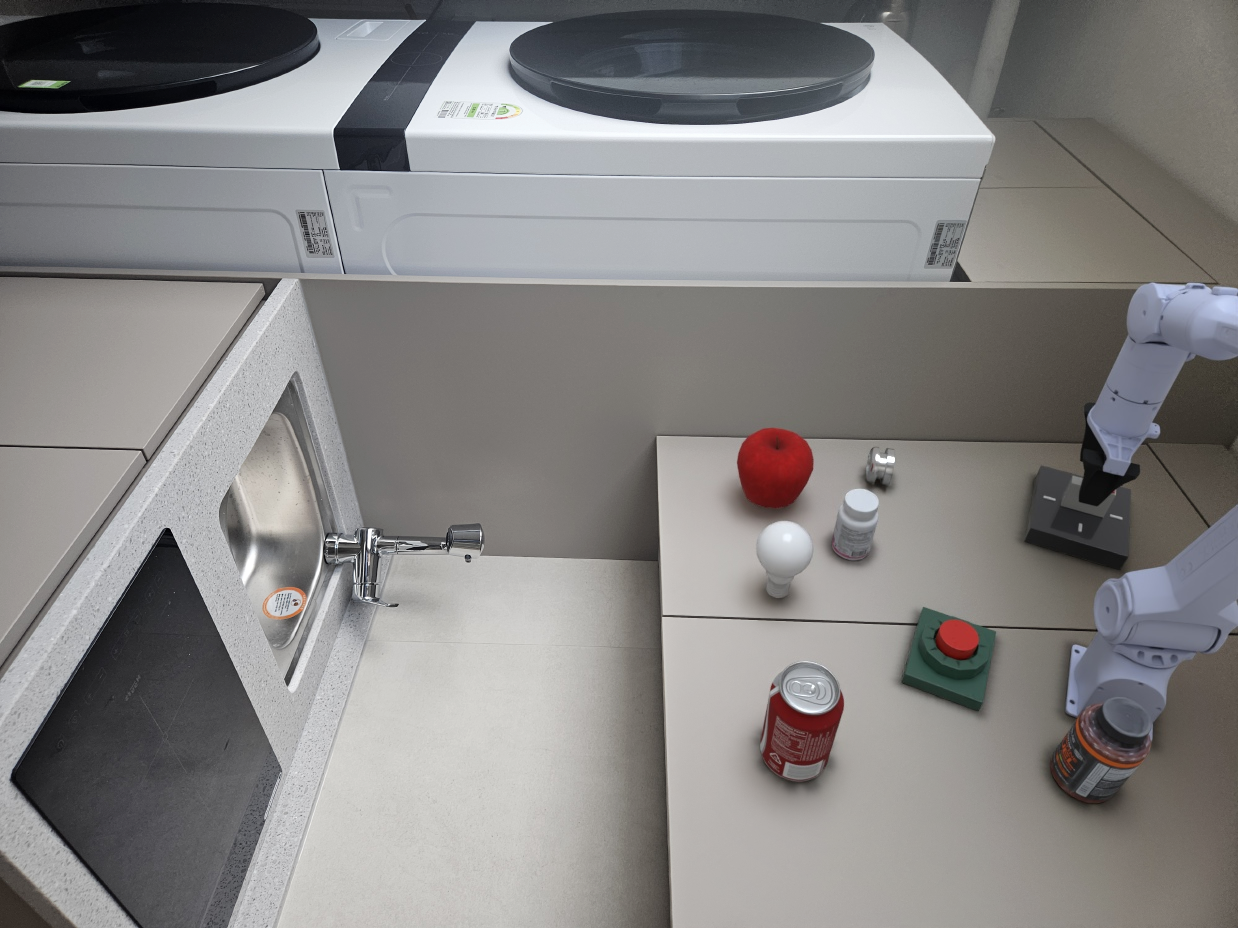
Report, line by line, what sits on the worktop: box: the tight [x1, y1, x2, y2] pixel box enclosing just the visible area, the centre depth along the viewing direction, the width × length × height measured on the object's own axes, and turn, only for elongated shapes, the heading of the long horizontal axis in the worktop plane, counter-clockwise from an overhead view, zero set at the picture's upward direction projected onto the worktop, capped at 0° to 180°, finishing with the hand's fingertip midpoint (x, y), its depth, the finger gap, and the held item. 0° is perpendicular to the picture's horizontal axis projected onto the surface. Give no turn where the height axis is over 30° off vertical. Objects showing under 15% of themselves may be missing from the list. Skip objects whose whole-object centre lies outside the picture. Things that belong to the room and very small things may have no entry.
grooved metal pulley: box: [865, 446, 896, 486], centre depth 109 cm, size 5×3×5 cm, turn 166°
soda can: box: [759, 660, 845, 783], centre depth 77 cm, size 7×7×12 cm
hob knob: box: [1061, 476, 1116, 518], centre depth 101 cm, size 5×2×4 cm, turn 63°
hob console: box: [1024, 464, 1132, 571], centre depth 103 cm, size 13×11×3 cm
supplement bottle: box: [1049, 697, 1152, 804], centre depth 75 cm, size 6×6×11 cm
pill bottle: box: [831, 488, 880, 561], centre depth 99 cm, size 5×5×8 cm
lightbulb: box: [755, 520, 814, 599], centre depth 93 cm, size 6×6×11 cm
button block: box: [901, 606, 997, 712], centre depth 88 cm, size 10×8×4 cm
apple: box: [736, 427, 815, 509], centre depth 105 cm, size 10×10×11 cm
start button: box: [936, 620, 979, 660], centre depth 86 cm, size 4×4×2 cm
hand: (1088, 481), depth 95 cm, fingers open, 7 cm apart
